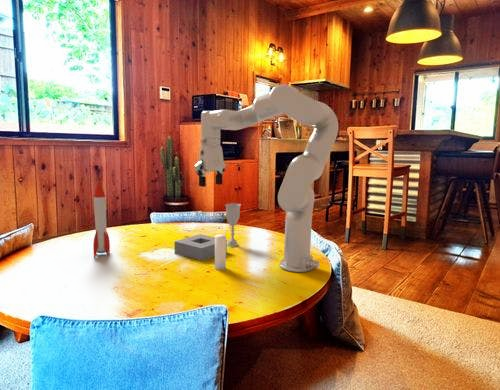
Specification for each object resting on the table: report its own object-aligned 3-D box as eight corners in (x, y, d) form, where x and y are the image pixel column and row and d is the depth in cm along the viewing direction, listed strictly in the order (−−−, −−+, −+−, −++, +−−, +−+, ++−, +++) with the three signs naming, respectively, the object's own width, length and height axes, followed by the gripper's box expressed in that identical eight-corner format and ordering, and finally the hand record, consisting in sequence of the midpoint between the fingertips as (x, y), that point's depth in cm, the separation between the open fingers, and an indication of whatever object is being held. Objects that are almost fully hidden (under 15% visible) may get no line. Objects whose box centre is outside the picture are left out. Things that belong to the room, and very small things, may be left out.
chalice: (233, 248, 160) (233, 207, 157) (221, 245, 164) (221, 205, 161) (243, 244, 165) (244, 204, 163) (231, 241, 169) (232, 202, 167)
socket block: (226, 251, 154) (226, 240, 154) (201, 260, 142) (201, 248, 142) (200, 245, 163) (200, 234, 162) (174, 253, 151) (174, 241, 150)
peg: (227, 267, 135) (228, 235, 134) (220, 270, 132) (221, 237, 130) (219, 265, 138) (219, 233, 136) (212, 268, 135) (212, 236, 133)
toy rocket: (93, 257, 144) (89, 180, 139) (95, 253, 149) (91, 178, 144) (109, 256, 145) (105, 180, 140) (110, 252, 150) (106, 178, 146)
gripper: (202, 142, 139) (202, 188, 141) (232, 142, 152) (231, 184, 155) (188, 142, 143) (188, 186, 146) (218, 142, 157) (218, 182, 159)
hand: (210, 185), depth 150 cm, fingers open, 9 cm apart
